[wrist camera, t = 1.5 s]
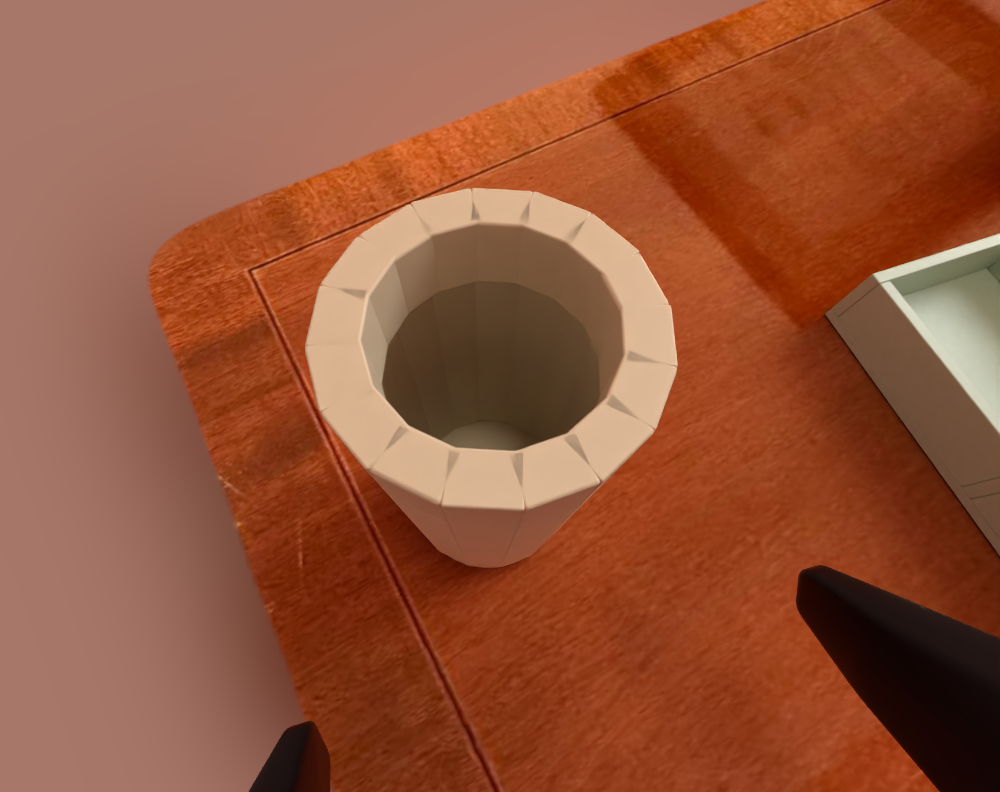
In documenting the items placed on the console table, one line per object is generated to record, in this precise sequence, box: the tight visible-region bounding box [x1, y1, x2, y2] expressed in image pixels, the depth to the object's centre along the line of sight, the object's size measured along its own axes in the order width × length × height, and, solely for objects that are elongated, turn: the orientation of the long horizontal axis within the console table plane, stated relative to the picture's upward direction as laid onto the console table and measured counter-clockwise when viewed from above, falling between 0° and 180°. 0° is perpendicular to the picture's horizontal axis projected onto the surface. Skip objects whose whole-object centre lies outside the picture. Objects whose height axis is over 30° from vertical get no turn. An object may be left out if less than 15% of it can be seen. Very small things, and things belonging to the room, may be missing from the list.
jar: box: [305, 188, 678, 568], centre depth 15 cm, size 7×7×14 cm
